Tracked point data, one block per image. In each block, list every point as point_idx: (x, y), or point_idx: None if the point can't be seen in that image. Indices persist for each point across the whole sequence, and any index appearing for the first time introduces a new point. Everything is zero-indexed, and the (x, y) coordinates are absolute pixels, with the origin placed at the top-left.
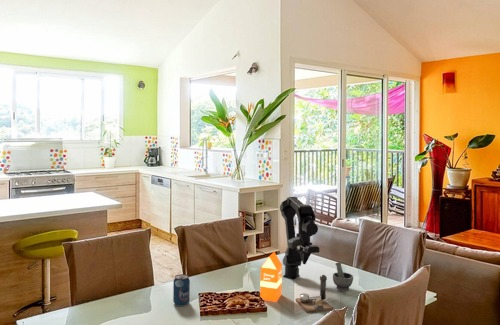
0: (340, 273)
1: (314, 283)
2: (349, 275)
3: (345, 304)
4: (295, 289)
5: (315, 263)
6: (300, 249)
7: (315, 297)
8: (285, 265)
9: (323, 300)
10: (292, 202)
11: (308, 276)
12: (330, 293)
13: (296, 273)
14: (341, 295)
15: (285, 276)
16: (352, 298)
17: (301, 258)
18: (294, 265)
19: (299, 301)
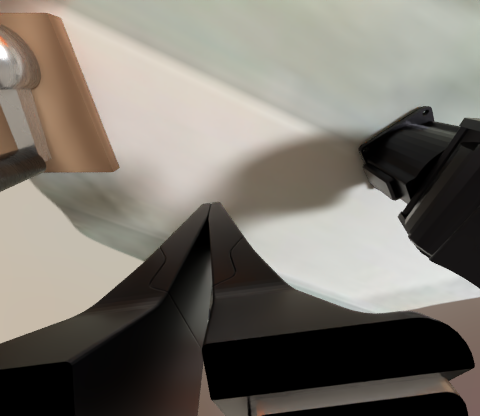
0: (210, 303)
1: (278, 209)
2: (209, 312)
3: (80, 224)
4: (235, 100)
5: (438, 276)
6: (245, 410)
7: (92, 146)
8: (475, 119)
9: (64, 165)
10: None
11: (352, 217)
12: (174, 220)
13: (374, 173)
14: (157, 241)
15: (412, 115)
16: (134, 256)
17: (232, 226)
18: (423, 185)
19: (2, 21)
